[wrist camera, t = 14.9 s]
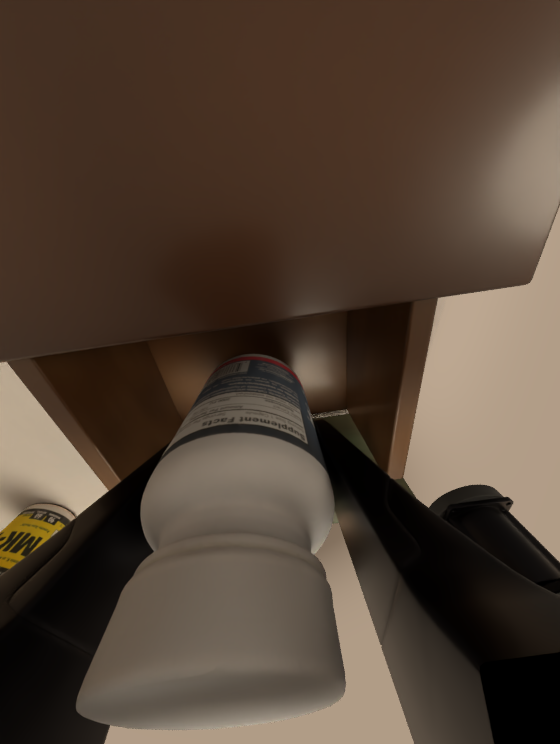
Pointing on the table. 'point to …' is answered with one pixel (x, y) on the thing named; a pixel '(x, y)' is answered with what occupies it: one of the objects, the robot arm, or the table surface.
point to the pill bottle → (227, 569)
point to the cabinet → (266, 160)
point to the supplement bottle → (30, 532)
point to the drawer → (210, 349)
